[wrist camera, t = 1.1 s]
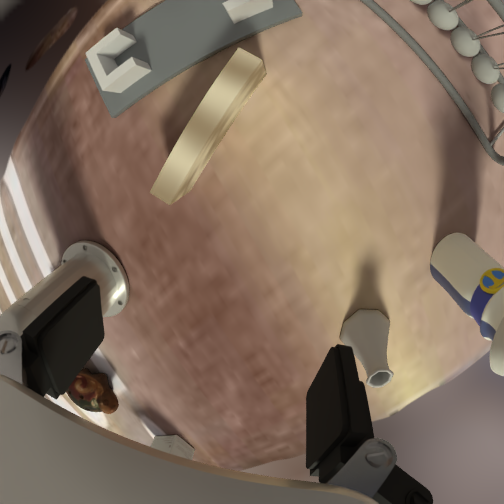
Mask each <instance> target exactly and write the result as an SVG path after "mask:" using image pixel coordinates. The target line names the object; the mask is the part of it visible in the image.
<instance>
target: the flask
mask: <svg viewBox="0 0 504 504" xmlns="http://www.w3.org/2000/svg"><path fill="white" fill-rule="evenodd" d="M389 326H390V320H389V319H388V318H386V317H385V316H384V315H383V314H382V313H381V312H380V311H379V310H361V309H359V310H358V311H357V312H356V313H354V314H353V315H352V316H351V317H350V318H349V319H347V320H346V321H345V322H344V323H343V327H342V331H341V335H340V340H341V341H342V342H343V343H344V344H345V345H346V346H351V347H352V349H353V353H354V355H355V356H356V357H357V358H358V359H359V360H360V362H361V363H362V365H363V367H364V368H365V370H366V373H367V377H368V378H367V380H366V383H367V384H368V385H369V386H371V387H383V386H384V385H386V384H387V383H389V382H390V381H391V379H392V377H393V372H392V371H391V370H390V369H389V367H388V364H387V343H388V334H389Z"/></svg>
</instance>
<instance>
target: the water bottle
mask: <svg viewBox="0 0 504 504" xmlns="http://www.w3.org/2000/svg"><path fill="white" fill-rule="evenodd" d="M430 270H431V274H432V276H433V278H434V279H435V280H436V281H437V282H438V283H439V284H440V285H441V286H442V287H443V288H444V289H445V290H446V291H447V292H448V293H449V295H450V296H451V297H452V298H453V299H454V300H455V302H456V303H457V304H458V305H459V306H460V308H461V309H462V310H463V311H464V312H465V313H466V314H467V315H468V316H470V317H471V318H474V319H475V321H476V322H477V323H478V325H479V326H480V332H481V335H482V336H483V337H484V338H485V339H487V340H492V345H491V349H490V367H491V369H492V371H493V372H495V373H497V374H499V375H502V376H504V268H503V267H502V266H501V265H500V264H499V263H498V262H497V261H496V260H495V259H493V258H492V257H491V256H490V255H489V254H487V253H486V252H485V251H484V250H483V249H482V248H480V247H479V246H478V245H477V244H476V243H475V242H474V241H472V240H471V239H470V238H469V237H468V236H467V235H465V234H463V233H452V234H449V235H447V236H446V237H444V238H443V239H442V240H441V241H440V242H439V243H438V245H437V246H436V248H435V249H434V251H433V254H432V257H431V261H430Z"/></svg>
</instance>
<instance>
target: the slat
mask: <svg viewBox="0 0 504 504" xmlns="http://www.w3.org/2000/svg"><path fill="white" fill-rule="evenodd" d="M265 76H266V71H265V68H264V65H263V62H262V60H261V59H260V58H258V57H256V56H254V55H252V54H250V53H249V52H247V51H245V50H243V49H241V48H238V49H237V50H236V52H235V53H234V54H233V56H232V57H231V59H230V60H229V61H228V63H227V64H226V66H225V67H224V68H223V70H222V71H221V73H220V74H219V76H218V77H217V79H216V80H215V82H214V83H213V85H212V86H211V88H210V89H209V91H208V92H207V94H206V95H205V97H204V98H203V100H202V101H201V103H200V105H199V106H198V108H197V109H196V111H195V113H194V114H193V116H192V117H191V119H190V121H189V122H188V124H187V126H186V127H185V129H184V131H183V132H182V134H181V136H180V138H179V139H178V141H177V143H176V145H175V146H174V148H173V150H172V152H171V153H170V155H169V157H168V159H167V161H166V163H165V164H164V166H163V168H162V170H161V172H160V174H159V176H158V178H157V179H156V181H155V183H154V185H153V187H152V189H151V191H150V193H151V194H153V195H155V196H156V197H158V198H159V199H161V200H162V201H164V202H165V203H167V204H168V205H171V204H172V203H174V202H175V201H177V200H178V199H179V198H181V197H182V196H184V195H185V194H187V193H188V192H190V191H191V189H192V188H193V186H194V184H195V183H196V181H197V179H198V177H199V176H200V174H201V172H202V171H203V169H204V167H205V166H206V164H207V163H208V161H209V159H210V158H211V156H212V155H213V153H214V151H215V150H216V148H217V147H218V145H219V143H220V142H221V140H222V139H223V137H224V136H225V134H226V132H227V131H228V129H229V128H230V126H231V125H232V123H233V122H234V120H235V119H236V117H237V116H238V114H239V113H240V111H241V110H242V108H243V107H244V105H245V104H246V103H247V101H248V100H249V98H250V97H251V95H252V94H253V93H254V91H255V90H256V88H257V87H258V85H259V84H260V83H261V81H262V80H263V78H264V77H265Z"/></svg>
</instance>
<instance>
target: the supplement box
mask: <svg viewBox="0 0 504 504" xmlns="http://www.w3.org/2000/svg"><path fill="white" fill-rule="evenodd" d="M151 447H152V448H155V449H157V450H160V451H163V452H166V453H170V454H173V455H176V456H179V457H183V458H186V459H190V460H192V458H193V454H194V451H195V449H194V448H192V447H191V446H190V445H189V444H188V443H186V442H185V441H184V440H183V439H182V438H180V437H179V436H178V435H171V436H155V437H154V440H153V442H152V445H151Z"/></svg>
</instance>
